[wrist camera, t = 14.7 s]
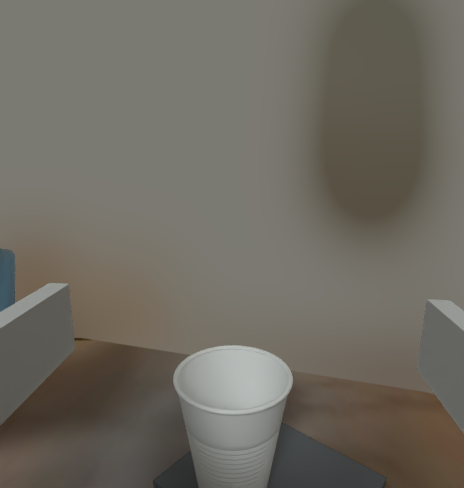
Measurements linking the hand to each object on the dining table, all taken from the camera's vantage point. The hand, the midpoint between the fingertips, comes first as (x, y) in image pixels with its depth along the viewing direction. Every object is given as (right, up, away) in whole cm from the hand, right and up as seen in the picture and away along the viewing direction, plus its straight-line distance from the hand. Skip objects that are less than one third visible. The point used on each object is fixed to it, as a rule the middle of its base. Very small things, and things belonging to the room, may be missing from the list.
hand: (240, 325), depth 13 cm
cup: (0, -19, +19) cm, 27 cm away
